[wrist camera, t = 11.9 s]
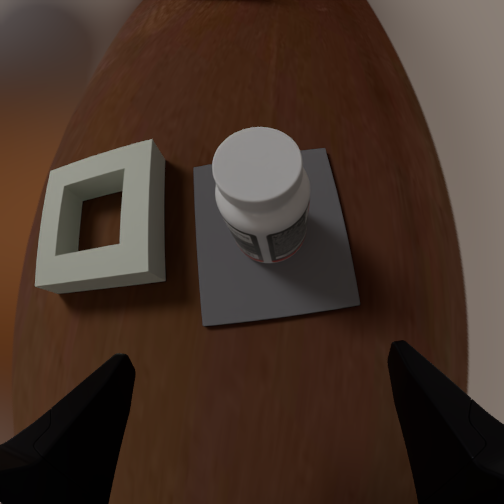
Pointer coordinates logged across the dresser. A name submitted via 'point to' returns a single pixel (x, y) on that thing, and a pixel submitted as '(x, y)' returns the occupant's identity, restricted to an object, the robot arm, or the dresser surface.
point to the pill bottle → (262, 192)
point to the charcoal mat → (280, 273)
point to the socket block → (131, 228)
